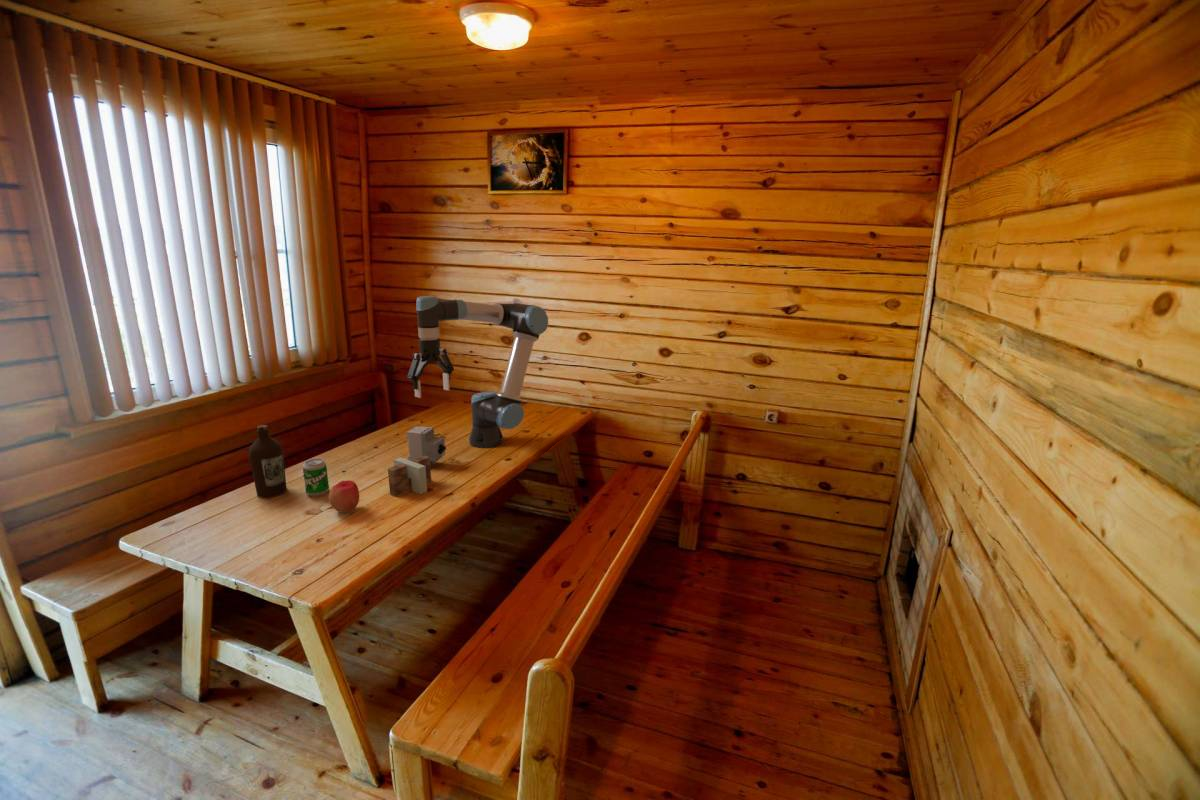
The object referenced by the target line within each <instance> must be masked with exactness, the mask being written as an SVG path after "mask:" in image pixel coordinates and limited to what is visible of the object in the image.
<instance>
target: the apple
mask: <svg viewBox="0 0 1200 800" xmlns="http://www.w3.org/2000/svg"><path fill="white" fill-rule="evenodd" d="M328 501H329V505H331V507H332V508H333V509H334V510H335V511H337V512H339V513H349V512H352V511H354V510H355V509H356V508H357V506H358V505H359V502H360V491H359V488H358V485H357V483H356V482H355V481H354V480H341V481H339V482H338V483H336V484H334V485H333V486H332V487H331V488H330V491H329V493H328Z"/></svg>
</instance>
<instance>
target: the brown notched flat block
mask: <svg viewBox="0 0 1200 800" xmlns="http://www.w3.org/2000/svg"><path fill="white" fill-rule="evenodd" d="M412 461H413V462H415V463H418V464H421V465H424V466H425V467H426V481H427V485H428V484H430V483H432V473H431V471H432V470H431V466H430V457H427V456H422V457H419V458H416V459H414V460H412ZM387 474H388V484H389V485H388V486H389V496H390V495H391V496H393V497H398V496H401V495H403V494H405V493H406V494H407V493H408V492H410V491H411V492H412V484H411V478H409V477H408V475H407V466H406V465H403V464H399V465H397V466H394V465H393V466H391V467H389V468H387Z"/></svg>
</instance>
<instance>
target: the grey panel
mask: <svg viewBox="0 0 1200 800" xmlns="http://www.w3.org/2000/svg"><path fill="white" fill-rule="evenodd" d="M393 463H394V464H393V467H394V466H397V465H399V464H403V465H406V466H407V475H408V477H409V478H411V484H412V490H411V492H414V493H416V494H418V495H422V494H425V493H428V486H427V485H428V484H427V481H426V467H425V466H424V465H421V464H418V463H415V462H413V461H410V460H408V458H407V459H406V458H404V457H397V458H395V459H393Z"/></svg>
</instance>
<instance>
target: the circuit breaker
mask: <svg viewBox="0 0 1200 800" xmlns="http://www.w3.org/2000/svg"><path fill="white" fill-rule="evenodd" d="M434 429H435V428H434V427H427V426H413V428H411V429H409V430H407V431H406V435H405V439H406V440H405V441H406V442H405V443H408V451H409V455H408V456H407V460H410V461H412V460H414V459H416V458H419V457H422V456H427V457H430V467H432V466H433V465H434V464H436V463H437V462H439V460H441V459H442V458H444V456H446V450H447V446H446V443H445V439H446V438H445V437H443V436H442V437H441V436H435V430H434Z"/></svg>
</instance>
